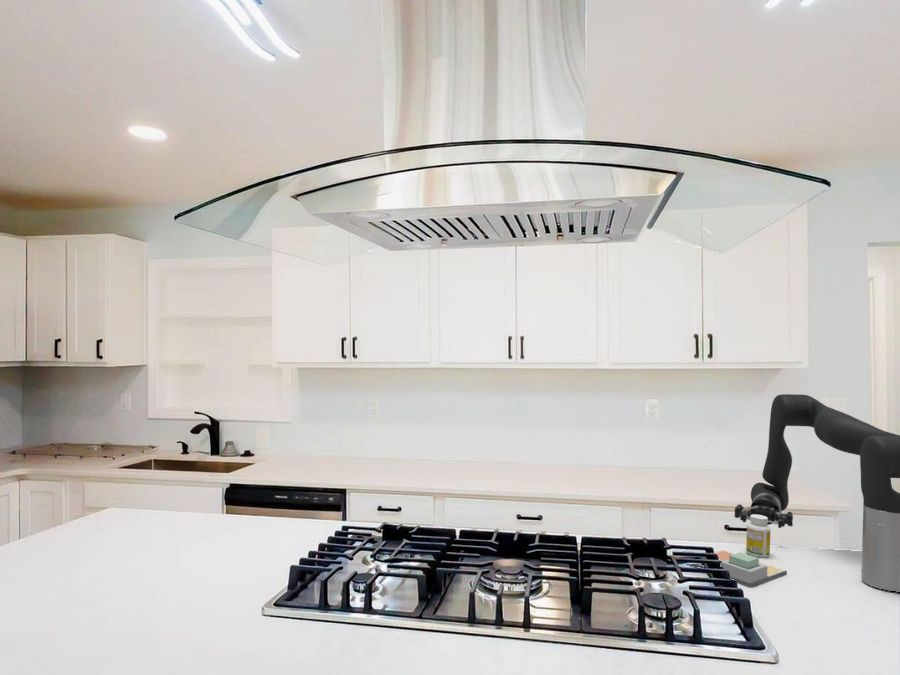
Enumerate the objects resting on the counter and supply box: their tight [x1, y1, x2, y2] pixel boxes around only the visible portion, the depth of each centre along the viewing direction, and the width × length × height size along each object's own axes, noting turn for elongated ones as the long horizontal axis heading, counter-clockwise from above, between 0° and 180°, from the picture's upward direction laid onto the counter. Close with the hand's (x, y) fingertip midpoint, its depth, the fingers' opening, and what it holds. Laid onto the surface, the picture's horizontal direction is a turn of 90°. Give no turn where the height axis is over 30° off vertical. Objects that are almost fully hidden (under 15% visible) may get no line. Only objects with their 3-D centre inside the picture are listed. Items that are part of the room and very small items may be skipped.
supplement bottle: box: [745, 514, 771, 559], centre depth 155 cm, size 5×5×10 cm
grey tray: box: [691, 550, 788, 588], centre depth 144 cm, size 16×15×3 cm
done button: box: [729, 551, 760, 570], centre depth 139 cm, size 4×4×2 cm
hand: (761, 521), depth 164 cm, fingers open, 8 cm apart
